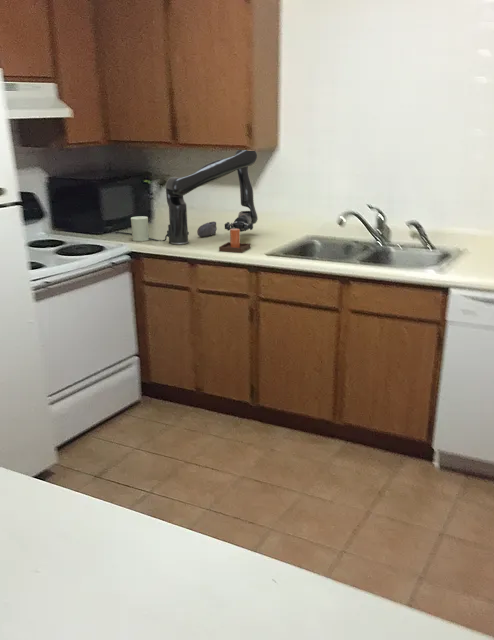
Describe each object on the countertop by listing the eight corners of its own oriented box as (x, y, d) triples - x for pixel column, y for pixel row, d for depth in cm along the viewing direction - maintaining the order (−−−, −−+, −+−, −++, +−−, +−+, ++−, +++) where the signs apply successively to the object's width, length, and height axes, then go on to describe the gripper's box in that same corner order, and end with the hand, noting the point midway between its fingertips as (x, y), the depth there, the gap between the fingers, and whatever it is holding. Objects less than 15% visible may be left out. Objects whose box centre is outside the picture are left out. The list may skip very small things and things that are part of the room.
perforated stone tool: (201, 238, 359) (200, 225, 356) (194, 237, 362) (193, 224, 359) (219, 234, 369) (219, 221, 367) (212, 233, 373) (212, 220, 370)
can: (134, 241, 354) (132, 218, 349) (130, 238, 362) (129, 216, 357) (151, 240, 356) (149, 217, 352) (147, 237, 364) (146, 214, 360)
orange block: (228, 248, 332) (228, 229, 328) (232, 246, 336) (232, 228, 332) (237, 248, 330) (237, 230, 326) (241, 246, 334) (241, 228, 330)
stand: (219, 251, 330) (219, 246, 329) (228, 246, 340) (228, 242, 339) (241, 253, 326) (241, 248, 325) (250, 247, 336) (250, 243, 335)
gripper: (228, 215, 348) (222, 220, 333) (255, 215, 346) (250, 221, 331) (229, 229, 351) (222, 235, 336) (255, 230, 349) (250, 236, 334)
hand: (236, 228), depth 334 cm, fingers open, 8 cm apart
